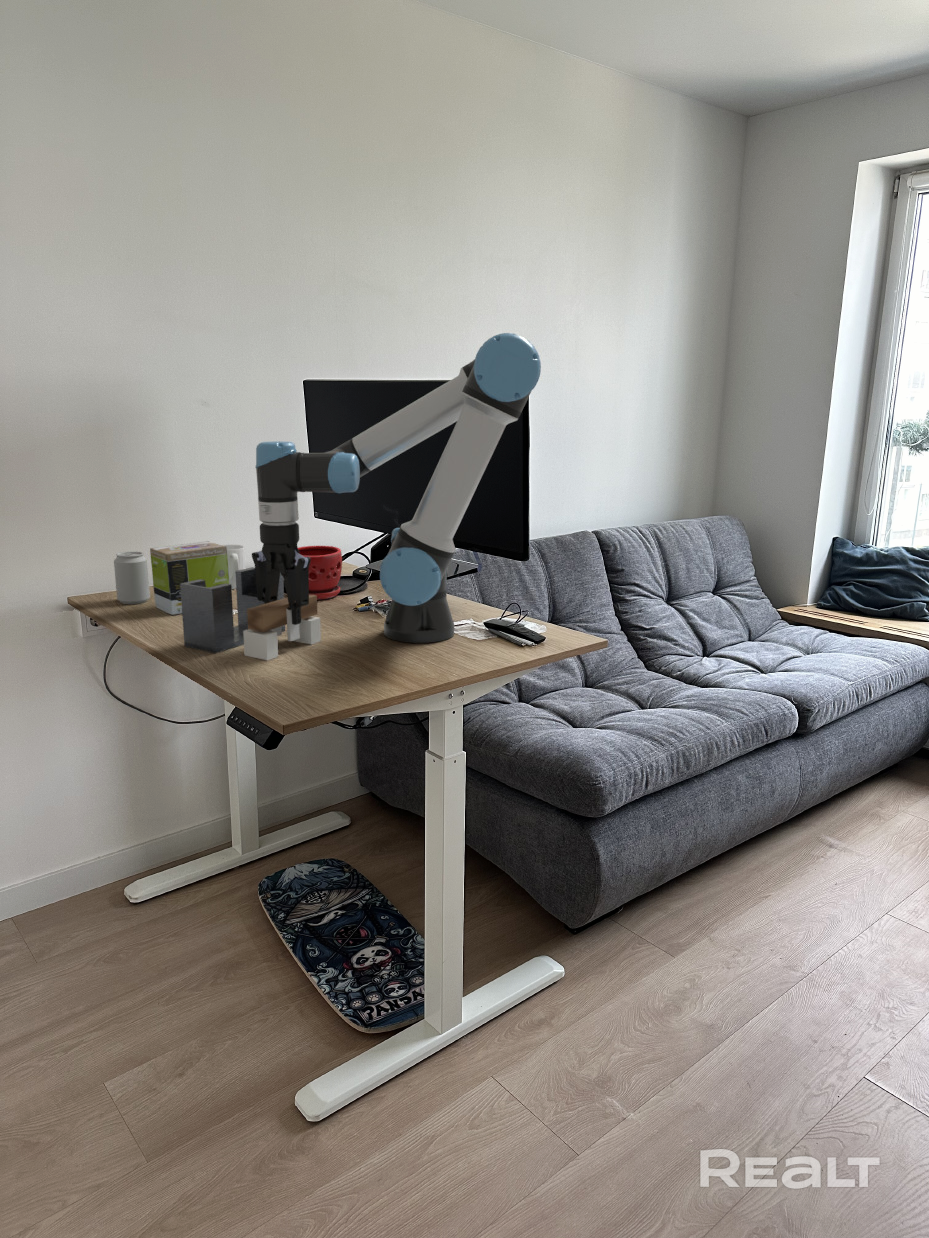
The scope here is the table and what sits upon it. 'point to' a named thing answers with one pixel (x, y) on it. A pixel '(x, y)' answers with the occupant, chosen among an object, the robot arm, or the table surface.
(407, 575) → the robot arm
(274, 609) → the rail
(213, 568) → the tea box
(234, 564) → the mug
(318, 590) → the plant pot
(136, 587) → the can
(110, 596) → the table surface
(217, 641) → the brackets
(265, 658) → the blocks
